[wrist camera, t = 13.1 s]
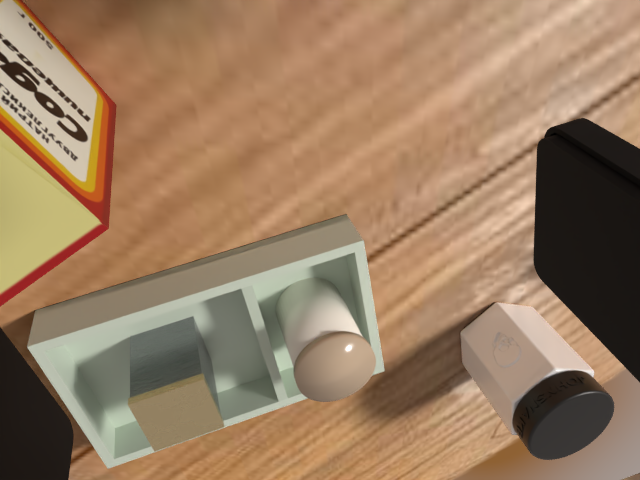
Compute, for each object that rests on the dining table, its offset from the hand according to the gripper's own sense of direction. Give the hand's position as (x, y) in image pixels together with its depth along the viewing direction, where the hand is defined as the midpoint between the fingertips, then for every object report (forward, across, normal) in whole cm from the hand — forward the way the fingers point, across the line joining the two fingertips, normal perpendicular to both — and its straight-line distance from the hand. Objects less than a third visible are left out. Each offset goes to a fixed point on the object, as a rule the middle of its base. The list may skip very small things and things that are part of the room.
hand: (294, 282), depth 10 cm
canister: (+28, -2, +25) cm, 37 cm away
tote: (+28, +6, +25) cm, 38 cm away
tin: (+27, +10, +25) cm, 38 cm away
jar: (+29, -19, +38) cm, 51 cm away
